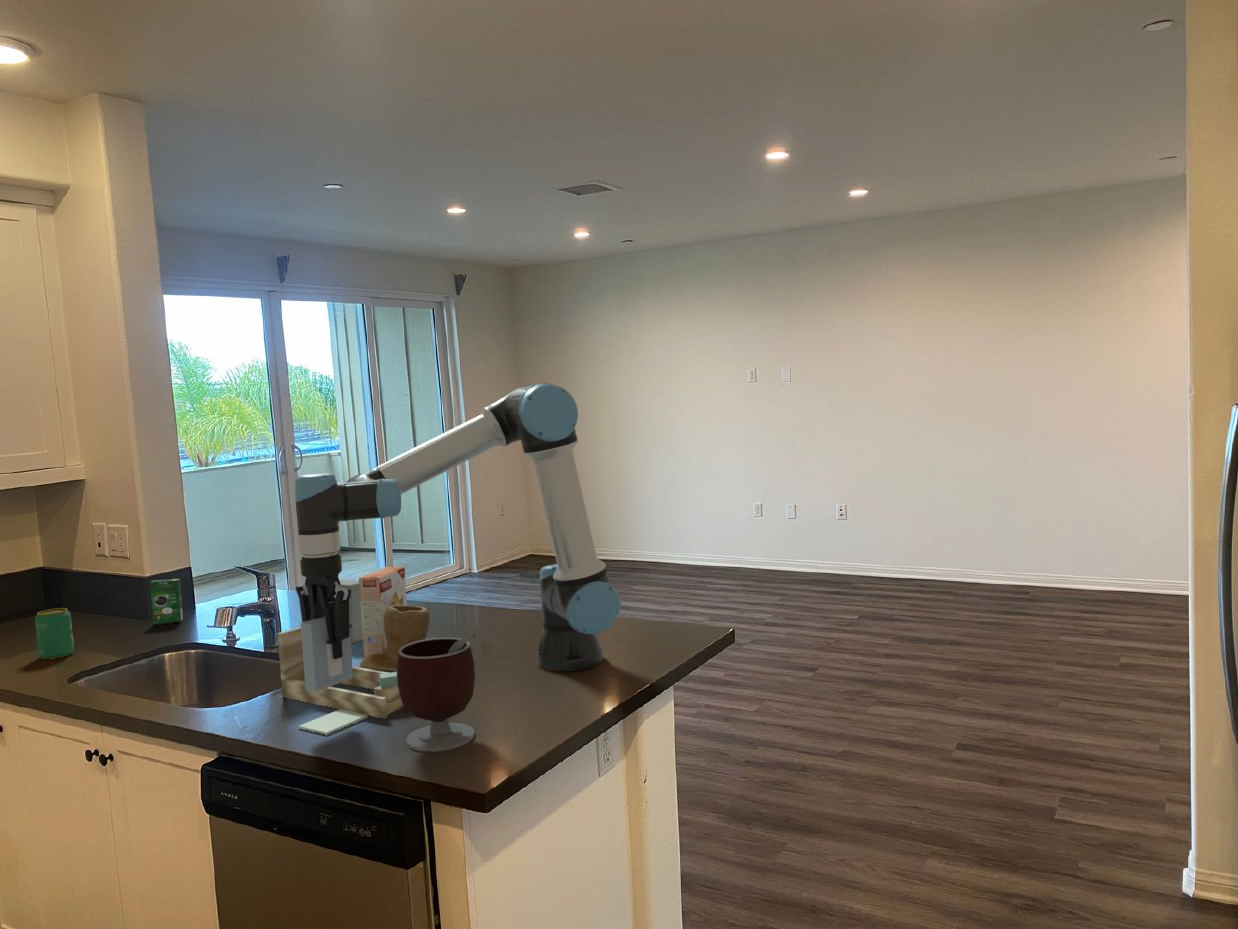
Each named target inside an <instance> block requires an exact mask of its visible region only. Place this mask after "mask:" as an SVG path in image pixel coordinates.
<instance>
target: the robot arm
mask: <svg viewBox="0 0 1238 929" xmlns="http://www.w3.org/2000/svg"><path fill="white" fill-rule="evenodd" d="M578 420H579V410H578V405H577V403H576V400H575V399H574V397H573V396H572V395H571V393H570V392H569V391H568V390H566V389H565V388H564V387H561V386H559V385H556V384H553V383H547V382H544V383H543V382H542V383H537V384H536V383H535V384H529V385H523V386H520V387H518V388H516V389H515V390H512V391H511V392H510V393H508V394H507V395H505V396H503V397H501V398H499V399H498V400H497V401H495V402H493V403H492V404H489V405H488V406H485V407H483V408H482V411H481V414H480V415H478V416H475V417H474V418H472V419H470V420H468V421H466V422H464V423H462V424H460V425H458V426H456V427H454V428H452V429H450V430H448V431H446V432H443V433H442V434H440V435H438V436H436V437H434V438H432V439H430V440H427V441H425V442H424V443H422V444H420V445H418V446H415V447H413V448H411V449H410V450H407V451H406V452H403V453H402V454H400V455H398V456H395V457H394V458H391V459H390V460H387V461H386V462H384V463H381V464H379V465H378V466H376V467H374V468H372V469H370V470H368V471H365V472H364V473H361V474H355V475H354V476H352V477H350V478H348V480H346V482H338V481H337V478H336V476H335V474H333V473H326V472H325V473H323V472H322V473H309V474H302V475H300V476H298V477H297V478H296V479H295V480H294V491H295V494H294V495H295V496H294V498H295V499H294V502H295V510H296V512H295V513H296V523H297V532H298V534H297V538H298V553H299V554H300V555H301V556H300V558H299V561H300V562H299V563H300V574H301V576H303V577H305V580H304V583H305V584H304V583H303V584H304V585H303V584H302V585H298V586H296V587H295V592H296V594H297V597H298V601H299V607H300V615H301V616H300V617H301V623H302V622H306V621H309V620H313V619H316V618H319V617H323V616H325V619H326V625H327V630H328V636H329V641H326V645H327V658H328V672H329V677H333V676H335V675H338V674H341V673H343V671H342V656H343V653H342V640H344V639H346V638H349V636H350V630H349V599H350V595H351V590H350V589H344V588H343V587H341V583H340V581H339V580H340V579H339V578H340V577H339V574H340V573H342V571H343V566H342V565H343V564H342V555H341V554H340V552H339V551H340V550H341V542H340V541H341V540H340V539H341V538H340V525H339V524H340V523H339V522H348V521H357V520H370V519H385V518H389V517H390V518H391V517H397V516H398V515H400V514H401V511H402V495H403V494H404V493H407V492H409V491H410V490H412V489H414V488H417V487H418V486H421V485H422V484H424V483H426V482H428V481H430V480H432V479H434V478H436V477H438V476H440V475H443V473H445V472H448V471H450V470H452V469H453V468H455V467H457V466H460V465H461V464H463V463H465V462H467V461H470V460H471V459H473V458H475V457H477V456H479V455H481V454H483V453H485V452H488V451H489V450H491V449H493V448H495V447H497V446H498V447H502V448H505V447H507V446H509V445H511V444H513V443H515V442H518V441H520V443H521V446H522V450H523V454H524V455H526V456H527V457H528V458H530V459H531V460H532V463H533V467H534V470H535V475H536V479H537V483H538V487H539V491H540V496H541V501H542V504H543V508H544V513H545V516H546V521H547V522H546V523H547V526H548V530H549V535H550V539H551V542H552V547H553V551H554V555H555V560H556V564H549V565H545V566H543V567H541V568H540V571H539V581H538V582H539V584H540V586H539V587H540V600H541V601H540V602H541V616H542V617H541V618H542V633H541V637H540V641H539V646H538V648H537V649H538V650H537V653H536V654H537V655H536V660H537V666H538V667H539V668H541V669H543V670H546V671H552V672H574V671H575V672H576V671H581V670H582V671H583V670H585V669H587V670H588V669H590V668H594V667H596V666H598V665H600V664H601V663H602V662H603V660H604V659H603V658H604V656H603V655H604V654H603V648H602V647H601V644H600V642H599V639H598V636H597V635H598V634H601V633H604V632H607V630H609V629H610V628H611V627H612V626H613V625H614V624H615V623H616V622H617V620H618V618H619V615H620V613H621V606H622V602H621V596H620V594H619V592H618V591H617V590H616V587H615V586H613V585H612V584H611V582H610V577H609V573H608V570H607V565H606V563H605V562H604V561H602V560H601V559H599V558H598V557H597V551H596V549H595V548H596V547H595V544H594V539H593V535H592V531H591V527H590V520H589V517H588V512H587V509H586V504H585V500H584V495H583V491H582V487H581V482H580V478H579V474H578V469H577V468H578V467H577V464H576V459H575V456H574V452H573V451H574V449H575V447H576V445H577V444H578V441H579V440H578V436H577V432H576V426H577V423H578ZM328 602H330V603H328ZM600 662H601V663H600ZM599 663H600V664H599Z"/></svg>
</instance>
